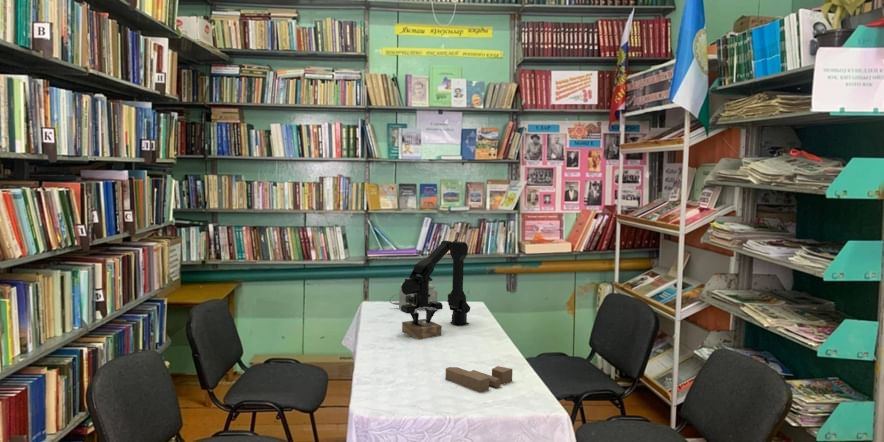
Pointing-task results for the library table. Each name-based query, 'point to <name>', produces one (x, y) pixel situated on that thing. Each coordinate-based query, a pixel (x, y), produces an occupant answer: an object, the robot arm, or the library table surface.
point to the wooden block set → (479, 378)
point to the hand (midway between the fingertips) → (421, 326)
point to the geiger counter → (403, 297)
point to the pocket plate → (421, 330)
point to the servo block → (423, 323)
